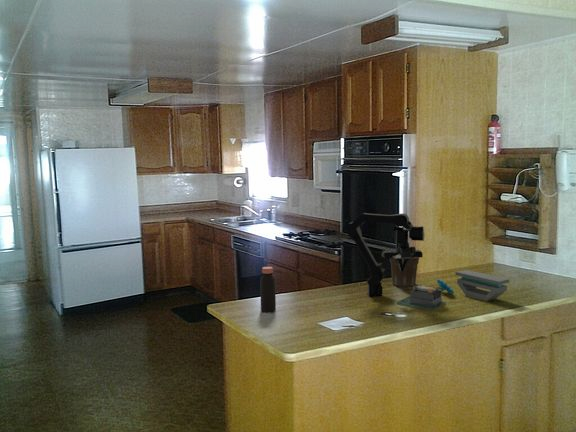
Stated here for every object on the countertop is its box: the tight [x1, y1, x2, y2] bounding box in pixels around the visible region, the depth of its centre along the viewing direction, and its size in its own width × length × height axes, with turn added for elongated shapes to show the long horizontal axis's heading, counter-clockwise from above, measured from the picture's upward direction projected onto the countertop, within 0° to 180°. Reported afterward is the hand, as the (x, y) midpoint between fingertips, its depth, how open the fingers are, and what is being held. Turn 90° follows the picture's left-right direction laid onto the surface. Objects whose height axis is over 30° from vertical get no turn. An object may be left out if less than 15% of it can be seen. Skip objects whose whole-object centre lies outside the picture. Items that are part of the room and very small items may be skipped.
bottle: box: [259, 266, 277, 313], centre depth 243 cm, size 7×7×20 cm
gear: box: [436, 279, 455, 294], centre depth 268 cm, size 11×6×10 cm
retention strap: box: [416, 285, 437, 292], centre depth 249 cm, size 10×3×1 cm, turn 50°
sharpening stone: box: [454, 269, 510, 302], centre depth 260 cm, size 25×8×11 cm, turn 32°
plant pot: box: [389, 256, 420, 288], centre depth 287 cm, size 16×16×16 cm
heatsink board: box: [396, 283, 446, 311], centre depth 251 cm, size 18×14×9 cm
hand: (401, 271), depth 261 cm, fingers closed
